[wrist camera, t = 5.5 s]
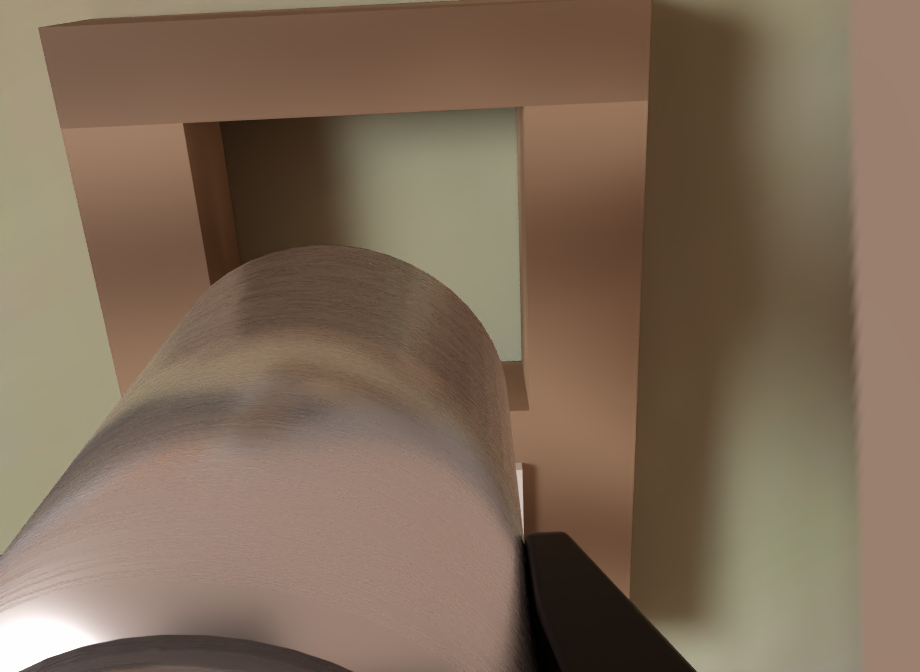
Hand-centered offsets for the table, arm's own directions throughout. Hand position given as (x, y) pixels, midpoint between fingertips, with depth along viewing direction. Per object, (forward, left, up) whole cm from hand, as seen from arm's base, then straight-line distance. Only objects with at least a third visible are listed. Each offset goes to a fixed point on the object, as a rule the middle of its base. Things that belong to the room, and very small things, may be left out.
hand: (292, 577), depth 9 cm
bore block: (-3, 0, -12) cm, 12 cm away
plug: (0, 0, -4) cm, 4 cm away
